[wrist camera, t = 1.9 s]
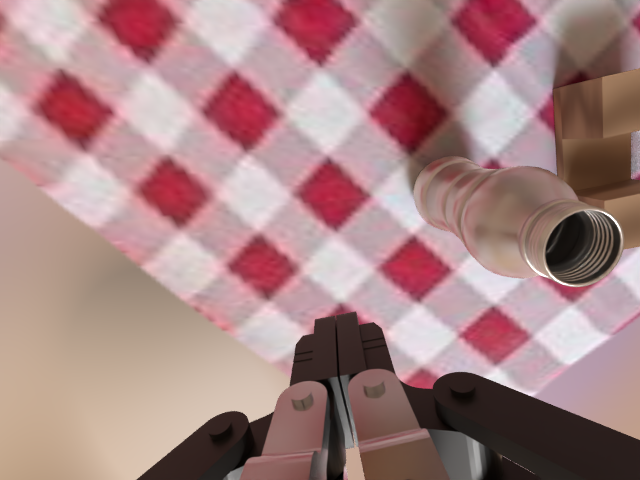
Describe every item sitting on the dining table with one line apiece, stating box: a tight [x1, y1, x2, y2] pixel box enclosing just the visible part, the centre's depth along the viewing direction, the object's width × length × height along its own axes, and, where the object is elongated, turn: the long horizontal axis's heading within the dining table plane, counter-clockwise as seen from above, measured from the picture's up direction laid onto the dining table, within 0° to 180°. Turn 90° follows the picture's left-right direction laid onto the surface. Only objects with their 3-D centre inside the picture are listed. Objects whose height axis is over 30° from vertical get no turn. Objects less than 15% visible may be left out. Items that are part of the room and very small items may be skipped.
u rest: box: [553, 68, 640, 250], centre depth 31 cm, size 14×6×6 cm, turn 12°
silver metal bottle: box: [413, 156, 624, 287], centre depth 25 cm, size 6×7×20 cm
